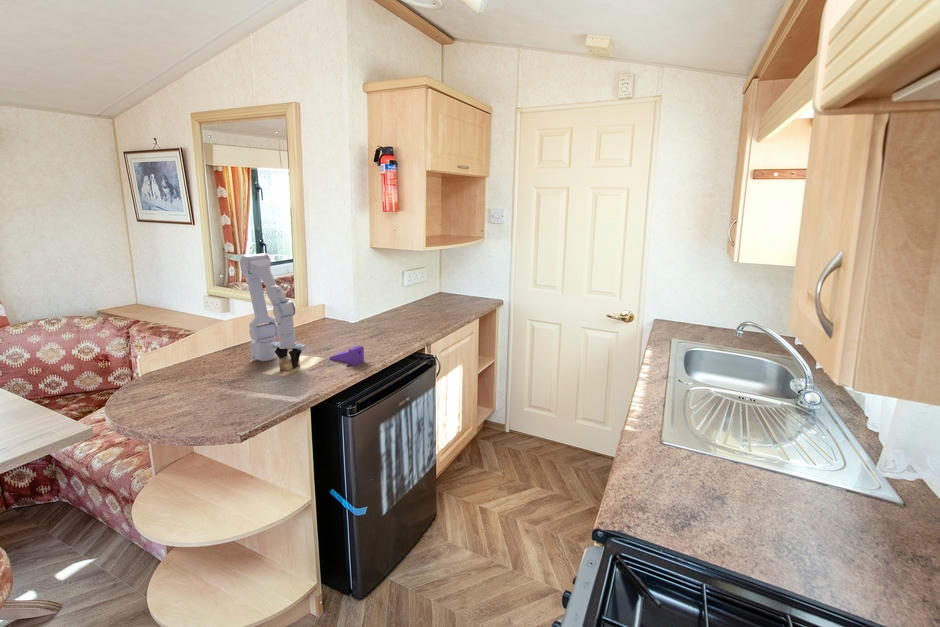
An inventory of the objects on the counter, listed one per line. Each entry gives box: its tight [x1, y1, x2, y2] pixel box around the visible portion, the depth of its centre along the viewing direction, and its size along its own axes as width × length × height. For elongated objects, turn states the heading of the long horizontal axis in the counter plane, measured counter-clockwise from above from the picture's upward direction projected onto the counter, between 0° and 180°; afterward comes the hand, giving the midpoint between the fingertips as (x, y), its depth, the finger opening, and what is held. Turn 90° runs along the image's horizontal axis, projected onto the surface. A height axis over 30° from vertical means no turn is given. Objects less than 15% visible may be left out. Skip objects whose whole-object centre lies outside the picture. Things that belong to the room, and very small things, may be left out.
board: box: [261, 354, 326, 378], centre depth 190 cm, size 14×22×1 cm, turn 164°
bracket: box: [329, 345, 365, 367], centre depth 196 cm, size 12×7×7 cm, turn 64°
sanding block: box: [278, 353, 300, 372], centre depth 187 cm, size 4×7×4 cm, turn 164°
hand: (290, 366), depth 187 cm, fingers closed on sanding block, 4 cm apart
